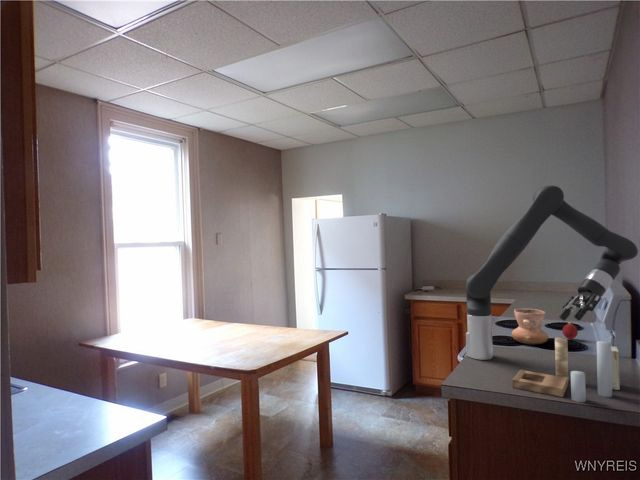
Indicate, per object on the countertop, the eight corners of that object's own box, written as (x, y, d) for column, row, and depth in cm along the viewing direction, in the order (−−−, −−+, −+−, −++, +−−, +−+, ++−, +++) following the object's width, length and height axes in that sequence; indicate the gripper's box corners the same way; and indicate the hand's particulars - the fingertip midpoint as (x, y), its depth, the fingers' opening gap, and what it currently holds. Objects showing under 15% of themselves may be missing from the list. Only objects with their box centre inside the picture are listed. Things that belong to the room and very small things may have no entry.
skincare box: (620, 390, 124) (619, 351, 124) (603, 388, 127) (602, 349, 127) (618, 383, 130) (617, 346, 130) (601, 381, 132) (600, 344, 132)
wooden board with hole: (512, 387, 130) (512, 379, 130) (520, 376, 139) (520, 369, 139) (562, 397, 121) (562, 388, 121) (567, 385, 130) (567, 377, 130)
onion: (580, 341, 177) (579, 323, 177) (565, 341, 178) (565, 323, 178) (574, 338, 183) (574, 320, 183) (560, 338, 184) (560, 320, 184)
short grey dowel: (570, 400, 119) (569, 373, 119) (572, 396, 122) (571, 370, 122) (585, 403, 117) (584, 375, 117) (586, 398, 120) (585, 372, 120)
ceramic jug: (545, 349, 168) (544, 315, 168) (507, 344, 177) (507, 312, 177) (551, 340, 182) (551, 308, 182) (516, 335, 191) (516, 305, 191)
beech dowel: (555, 381, 134) (553, 339, 134) (556, 378, 137) (555, 337, 136) (567, 383, 132) (566, 341, 131) (569, 380, 134) (568, 338, 134)
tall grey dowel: (597, 395, 122) (596, 343, 121) (598, 391, 124) (596, 340, 124) (612, 398, 119) (610, 344, 119) (612, 394, 122) (611, 341, 122)
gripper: (574, 280, 152) (548, 312, 149) (600, 275, 138) (572, 311, 135) (590, 293, 151) (565, 326, 148) (618, 290, 137) (591, 326, 134)
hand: (568, 318), depth 142 cm, fingers open, 8 cm apart
